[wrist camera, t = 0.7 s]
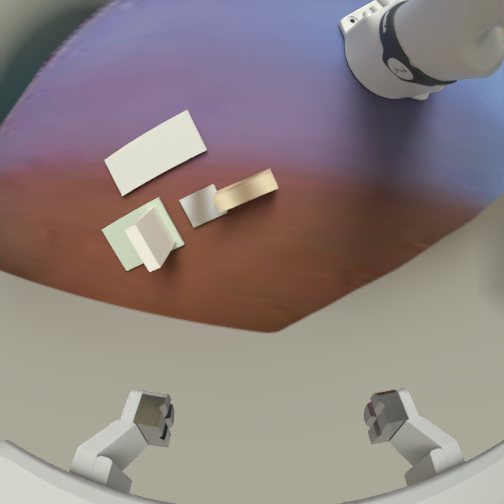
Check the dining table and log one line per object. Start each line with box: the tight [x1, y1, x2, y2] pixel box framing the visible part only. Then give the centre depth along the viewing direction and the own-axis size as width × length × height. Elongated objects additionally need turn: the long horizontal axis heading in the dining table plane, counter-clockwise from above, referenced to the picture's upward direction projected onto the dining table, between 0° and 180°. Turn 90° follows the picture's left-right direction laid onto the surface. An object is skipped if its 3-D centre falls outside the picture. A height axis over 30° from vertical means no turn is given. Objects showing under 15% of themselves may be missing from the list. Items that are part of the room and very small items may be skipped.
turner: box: [180, 168, 278, 227], centre depth 41 cm, size 15×5×4 cm, turn 114°
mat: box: [102, 197, 185, 271], centre depth 46 cm, size 13×9×1 cm
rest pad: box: [104, 110, 207, 196], centre depth 40 cm, size 16×7×1 cm, turn 114°
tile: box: [124, 206, 176, 272], centre depth 41 cm, size 2×7×9 cm, turn 24°
